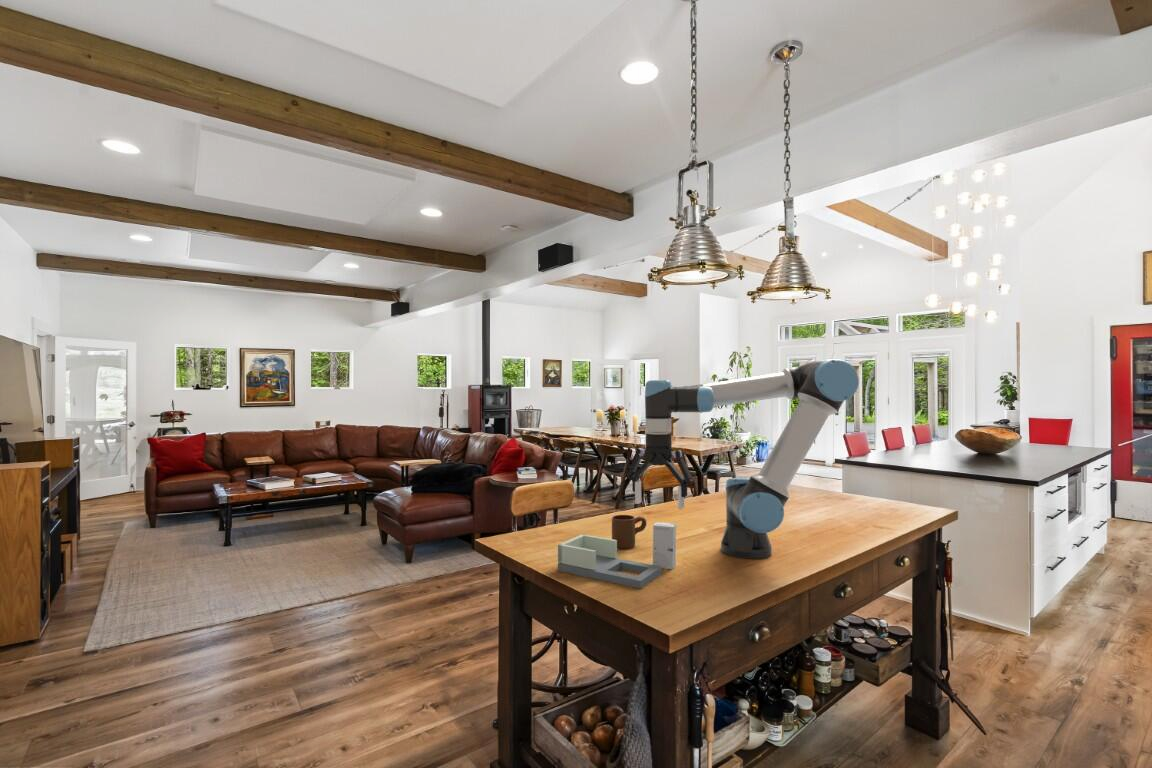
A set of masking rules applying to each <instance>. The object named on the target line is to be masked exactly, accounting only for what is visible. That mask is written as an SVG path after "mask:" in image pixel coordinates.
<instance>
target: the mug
mask: <svg viewBox="0 0 1152 768" xmlns="http://www.w3.org/2000/svg"><path fill="white" fill-rule="evenodd" d="M639 522H641V524H640V526H636V524H637V523H639ZM646 527H647V519H646V518H645V517H644V516H637V517H635V516H633V515H628V514H617V515H613V516H612V517H611V539H613V540H617V550H619V549H620V550H630V549H632V548H634V547H636V535H637V534H638V533H641V532H643V531H644V530H645V529H646Z"/></svg>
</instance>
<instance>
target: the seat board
mask: <svg viewBox="0 0 1152 768" xmlns="http://www.w3.org/2000/svg"><path fill="white" fill-rule="evenodd" d="M621 570H624V571H628V572H632V573H639V574H637V575H632V574H626V573H623V572H618V571H621ZM662 571H663V568H662V567H661V566H655V565H653V564H650V563H644V562H639V561H634V560H628V559H623V558H622V559H621V558H618V557H617V558H611V557H606V556H600V555H596V569H595V570H592V569H587V568H582V567H578V566H573V565H568V564H563V563H558V562H557V572H563V573H566V572H567V573H568V574H572V575H576V576H579V577H586V578H589V579H595V580H599V581H603V582H608V583H614V584H616V585H617V584H618V585H623V586H627V587H631V588H636V589H640V590H641V589H642V588H644V587H646V586H647V585H649V584H650V583H652V582H653V581H654V580H655V579H656V578H658V577H660V576H661V575H662V573H663V572H662ZM567 573H566V574H567Z"/></svg>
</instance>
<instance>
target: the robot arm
mask: <svg viewBox="0 0 1152 768" xmlns="http://www.w3.org/2000/svg"><path fill="white" fill-rule="evenodd" d="M859 382H860V380H859V375H858V372H857V370H856V369H855V367H854V366H853V365H852V364H851V363H849V362H848V361H846V360H843V359H839V358H828V359H824V360H816V361H815V360H813V361H812V362H807V363H804V364H802V365H798V366H794V367H789V368H783V370H782V372H776V373H769V374H764V375H754V376H749V377H743V378H735V379H734V378H733V379H729V380H722V381H716V382H709V383H703V384H696V385H686V386H672V382H671V381H670V380H668V379H661V380H660V379H657V380H656V379H655V380H654V379H653V380H651V379H649V380H648V381H646V382H645V385H644V387H645V391H644V409H645V414H644V415H645V432H646V434H645V449H643V448H642V447H638V448H636V449H635V456H634V458H633V459H632V463H631V465H630V467H629V470H628V471H627V474H626V479H629V480H630V481H631V482H632V483H631V484H632V487H631V488H632V490H631V491H632V492H633V493H634V504H636V505H639V504H641V503H642V480H640V478H642V476H643V474H645V473H646V471H647V470H648V468H650V466H651V465H653V466H657V465H659V466H665V467H666V468H667V469H668V470H669V471H670V472H671V474H672V475H673V476H674V478H675V479H676V480H677V482H678V483H679V484H680V485H677V501H678V503H677V504H678V505H677V507H678V508H677V509H678V510H682V509H685V498H686V497H688V485H691V484H693V483H694V478H693V476H692V473H691V472H690V469H689V468H688V465H687V463H686V461H685V459H684V455H683V450H681V449H679V450H673V449H672V446H673V445H672V443H673V441H672V439H673V438H672V437H673V436H672V434H671V433H672V413H700V414H701V413H710V412H712V411H713V408H715V407H720V406H727V405H735V404H742V403H749V402H756V401H763V400H771V399H778V398H787V399H788V400H794V399H795V400H796V399H798V400H799V401H798V404H797V405H796V407H795V409H794V410H793V413H792V414H791V416H790V418H789V420H788V421H787V423H786V424H785V426H784V428H783V430H782V432H781V434H780V435H779V438H778V439H777V440H776V442H775V445H774V446H773V448H772V450H771V452H770V453H769V455H768V457H767V459H766V460H765V462H764V464H763V466H762V467H761V468H760V471H759V472H758V473H756V474H752V475H751V476H750V477H729V478H728V479H727V480H726V482H725V483H726V484H725V485H726V486H725V495H726V497H725V498H726V499H725V500H726V501H725V503H726V506H725V510H726V513H725V514H726V526H725V529H724V532H723V535H722V539H721V541H720V551H721V552H722V553H723V554H726V555H727V556H731V557H735V558H739V559H748V560H749V559H750V560H753V559H754V560H755V559H757V560H759V559H764V558H769V557H770V556H772V544H771V541H770V538H769V535H768V533H770V532H773V531H775V530H776V529H777V528H779V526H780V525H781V524H782V522H783V520H784V518H785V509H784V507H785V505H786V503H787V502H788V501H789V499H790V495H789V491H788V488H789V486H790V485H791V482H792V481H793V479H794V478H795V475H796V474H797V472H798V470H799V468H800V467H801V465H802V464H803V462H804V460H805V458H806V457H807V454H808V453H809V451H810V449H811V448H812V446H813V444H814V443H815V441H816V439H817V437H818V435H819V434H820V431H821V430H822V429H823V426H824V425H825V423H826V421H827V419H828V417H830V416H832V415H834V414H838V412H839V410H840V408H841V407H842V405H843V403H845V401H847V400H849V399H850V398H851V397H853V396H854V395H855V393H857V390H858V389H859V384H860V383H859ZM644 455H645V456H646V459H645V460H644V461H643V464H642V465H641V466H640V467H639V465H640V463H641V461H642V458H643V457H644ZM672 457H673V458H674V459H675V460H676V463H677V465H678V467H679V469H678V467H677V466H676V464H675V463H674V461H673V460H672ZM638 467H639V468H638Z"/></svg>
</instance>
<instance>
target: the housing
mask: <svg viewBox="0 0 1152 768" xmlns="http://www.w3.org/2000/svg"><path fill="white" fill-rule="evenodd" d="M596 555H600V556H606V557H611V558H618V548H617V540H613V539H612V538H606V537H601V536H600V537H599V536H595V535H588V534H582V533H581V534H579V535H577V536H575V537H573V538H570V539H568V540H566V541H564V542H561V543H559V544H557V564H558V563H563V564H568V565H573V566H578V567H582V568H587V569H592V570H595V569H596Z"/></svg>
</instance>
